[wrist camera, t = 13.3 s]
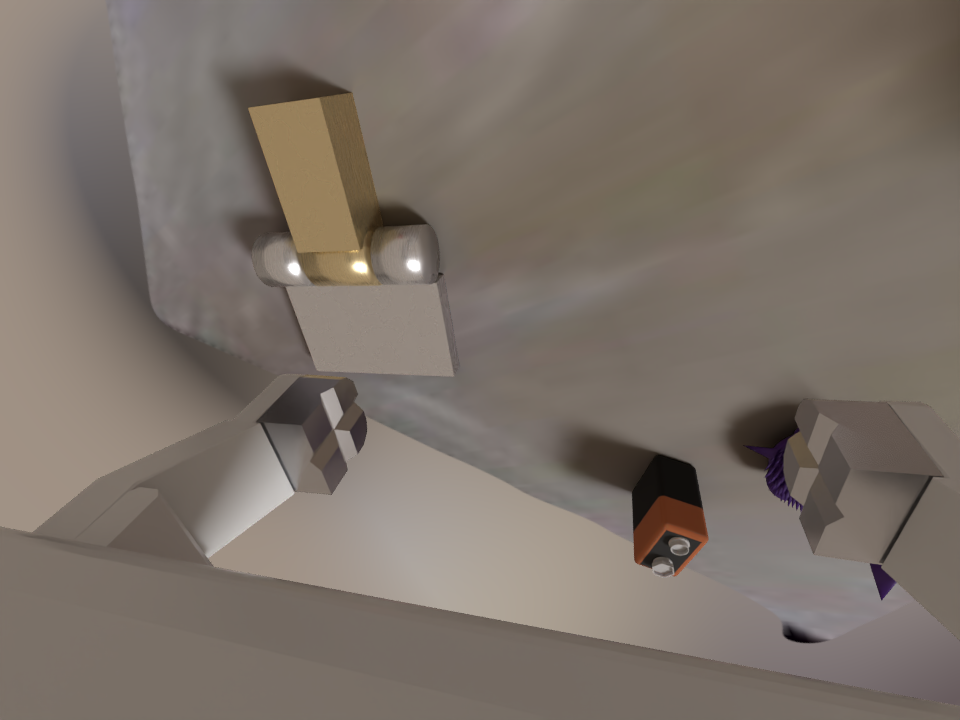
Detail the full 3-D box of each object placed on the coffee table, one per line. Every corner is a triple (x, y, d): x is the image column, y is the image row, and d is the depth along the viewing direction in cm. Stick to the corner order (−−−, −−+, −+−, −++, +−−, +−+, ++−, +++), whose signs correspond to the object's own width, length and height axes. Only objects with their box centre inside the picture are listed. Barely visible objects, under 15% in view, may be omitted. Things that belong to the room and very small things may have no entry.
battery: (630, 491, 52) (632, 572, 44) (655, 451, 48) (663, 532, 40) (668, 504, 52) (677, 588, 44) (697, 465, 48) (713, 549, 40)
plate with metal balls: (326, 360, 52) (302, 386, 48) (277, 225, 44) (243, 243, 40) (459, 365, 48) (445, 394, 44) (433, 216, 40) (412, 235, 36)
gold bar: (339, 273, 45) (312, 295, 41) (287, 101, 38) (247, 107, 33) (394, 272, 44) (372, 295, 40) (352, 92, 36) (319, 97, 32)
